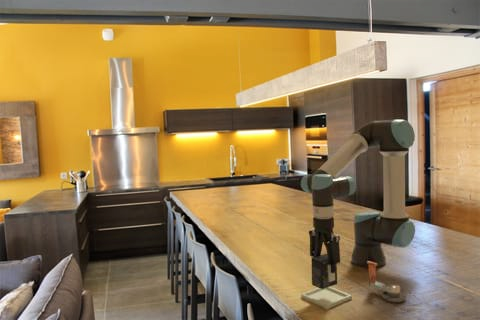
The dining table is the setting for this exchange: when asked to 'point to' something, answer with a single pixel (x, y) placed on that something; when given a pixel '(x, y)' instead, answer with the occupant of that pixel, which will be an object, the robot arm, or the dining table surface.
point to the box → (321, 272)
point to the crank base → (394, 298)
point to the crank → (390, 289)
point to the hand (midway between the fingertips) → (325, 278)
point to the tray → (326, 297)
